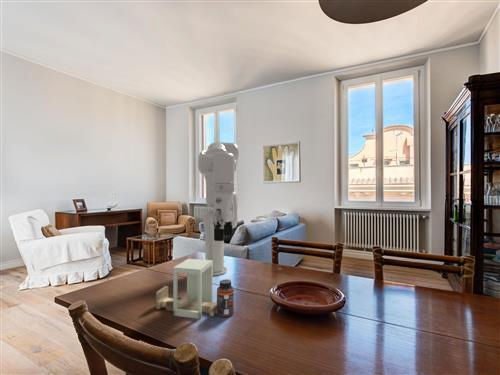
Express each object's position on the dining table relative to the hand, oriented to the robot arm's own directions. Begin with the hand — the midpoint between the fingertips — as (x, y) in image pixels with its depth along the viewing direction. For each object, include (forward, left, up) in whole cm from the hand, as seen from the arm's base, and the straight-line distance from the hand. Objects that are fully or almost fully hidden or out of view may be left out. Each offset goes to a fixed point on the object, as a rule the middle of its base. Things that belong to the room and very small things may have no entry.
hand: (223, 237), depth 91 cm
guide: (0, -19, -26) cm, 33 cm away
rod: (0, -14, -26) cm, 30 cm away
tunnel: (0, -11, -26) cm, 29 cm away
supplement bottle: (0, +1, -26) cm, 26 cm away
